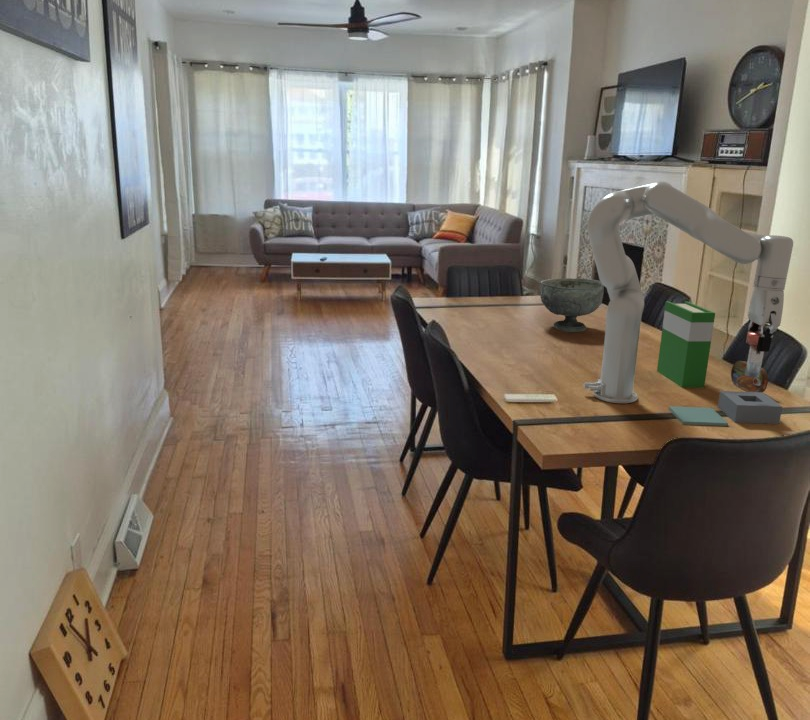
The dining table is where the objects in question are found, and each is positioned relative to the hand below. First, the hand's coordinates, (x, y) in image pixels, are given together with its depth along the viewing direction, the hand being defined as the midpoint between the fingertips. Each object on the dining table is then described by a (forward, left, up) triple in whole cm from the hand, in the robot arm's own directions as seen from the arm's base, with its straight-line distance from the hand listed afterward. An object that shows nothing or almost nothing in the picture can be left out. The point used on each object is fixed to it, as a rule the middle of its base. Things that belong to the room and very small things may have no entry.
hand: (757, 347), depth 192 cm
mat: (-15, -3, -20) cm, 25 cm away
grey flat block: (0, 0, -20) cm, 20 cm away
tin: (+10, +24, -20) cm, 33 cm away
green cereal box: (-8, +33, -20) cm, 39 cm away
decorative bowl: (-32, +100, -20) cm, 107 cm away
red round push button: (0, 0, -8) cm, 8 cm away
